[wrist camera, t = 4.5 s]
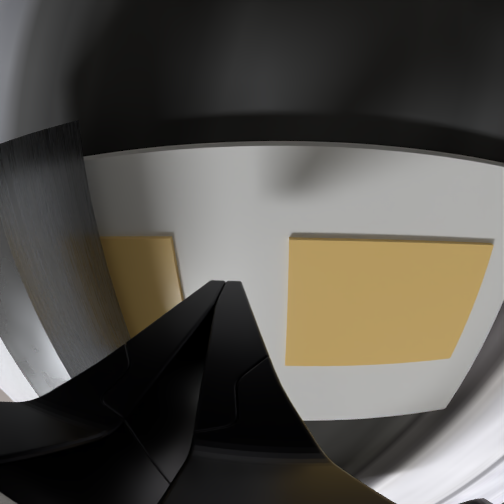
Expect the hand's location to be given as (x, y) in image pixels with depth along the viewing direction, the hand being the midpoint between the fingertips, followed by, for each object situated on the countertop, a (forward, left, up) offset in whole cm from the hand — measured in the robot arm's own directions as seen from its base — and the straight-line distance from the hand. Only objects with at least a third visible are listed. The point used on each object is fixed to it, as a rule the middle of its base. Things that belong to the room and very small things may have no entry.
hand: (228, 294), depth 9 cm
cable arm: (-3, +6, -2) cm, 7 cm away
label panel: (-3, 0, -4) cm, 5 cm away
